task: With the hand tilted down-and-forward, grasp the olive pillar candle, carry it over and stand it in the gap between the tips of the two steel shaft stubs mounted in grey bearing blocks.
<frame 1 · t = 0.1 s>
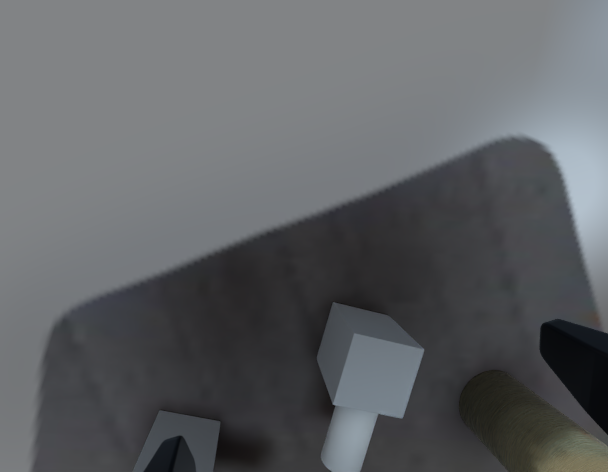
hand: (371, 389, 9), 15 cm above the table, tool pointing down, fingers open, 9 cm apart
shaft B on bearing block: (352, 336, 25), on the table
shaft A on bearing block: (183, 443, 25), on the table
olive pillar candle: (490, 401, 27), on the table
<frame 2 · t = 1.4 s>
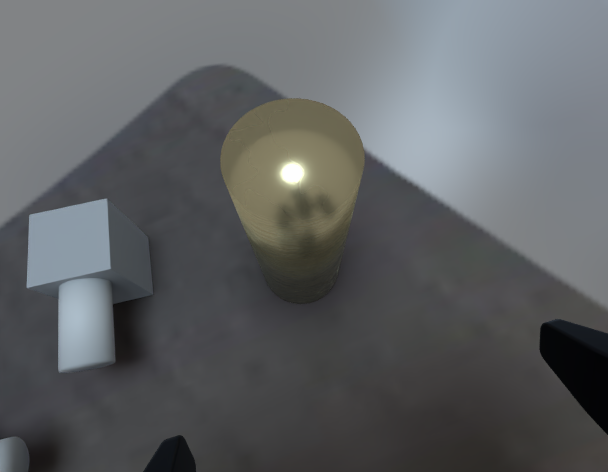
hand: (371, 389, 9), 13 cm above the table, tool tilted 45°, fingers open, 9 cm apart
shaft B on bearing block: (119, 272, 24), on the table
olive pillar candle: (301, 266, 24), on the table
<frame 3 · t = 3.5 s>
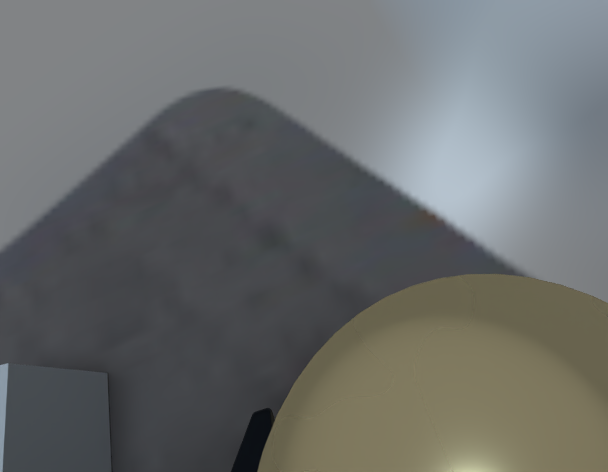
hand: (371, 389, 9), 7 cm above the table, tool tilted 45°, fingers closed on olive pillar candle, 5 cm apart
shaft B on bearing block: (57, 439, 15), on the table
olive pillar candle: (357, 428, 15), on the table, touching gripper
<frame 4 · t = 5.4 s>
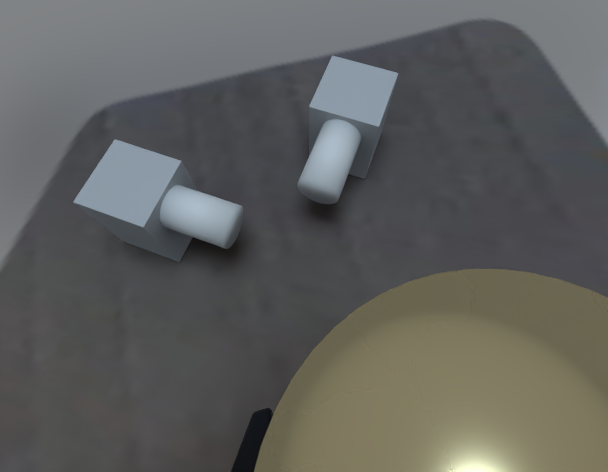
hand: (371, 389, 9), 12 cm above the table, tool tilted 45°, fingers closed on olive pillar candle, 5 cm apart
shaft B on bearing block: (345, 147, 26), on the table
shaft A on bearing block: (166, 224, 24), on the table
olive pillar candle: (357, 427, 15), point 6 cm above the table, touching gripper
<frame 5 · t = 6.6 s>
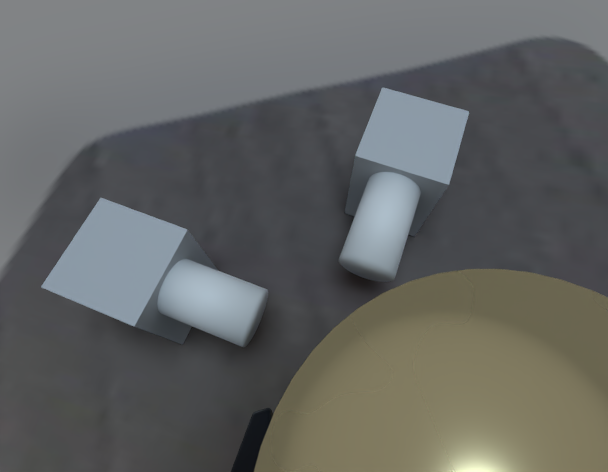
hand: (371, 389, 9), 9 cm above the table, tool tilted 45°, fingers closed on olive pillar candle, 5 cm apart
shaft B on bearing block: (389, 194, 21), on the table
shaft A on bearing block: (167, 292, 19), on the table
olive pillar candle: (357, 427, 15), point 3 cm above the table, touching gripper
when the fingers open (7 cm above the table, at t = 7.6 s): olive pillar candle stays where it is, on the table.
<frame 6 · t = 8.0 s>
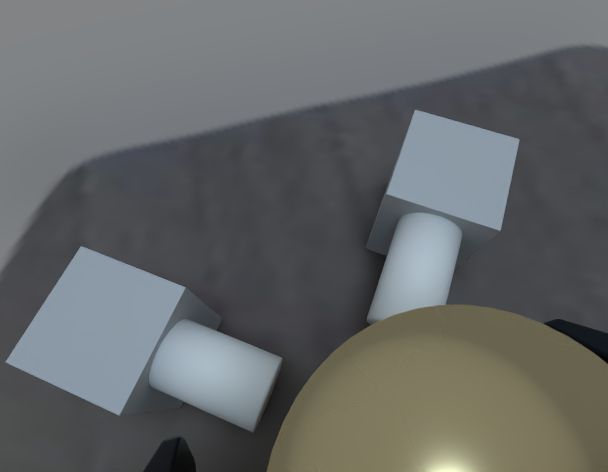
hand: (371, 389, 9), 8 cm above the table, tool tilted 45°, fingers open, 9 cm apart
shaft B on bearing block: (415, 226, 19), on the table
shaft A on bearing block: (162, 344, 17), on the table
olive pillar candle: (355, 426, 15), on the table
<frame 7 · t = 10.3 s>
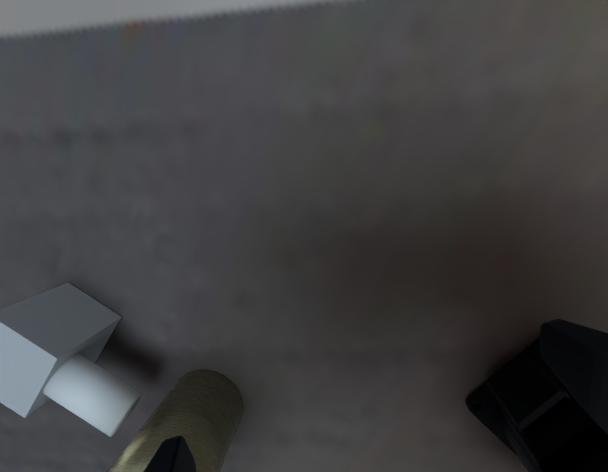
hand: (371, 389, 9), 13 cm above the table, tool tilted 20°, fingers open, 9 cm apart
shaft B on bearing block: (81, 324, 24), on the table
olive pillar candle: (206, 404, 24), on the table
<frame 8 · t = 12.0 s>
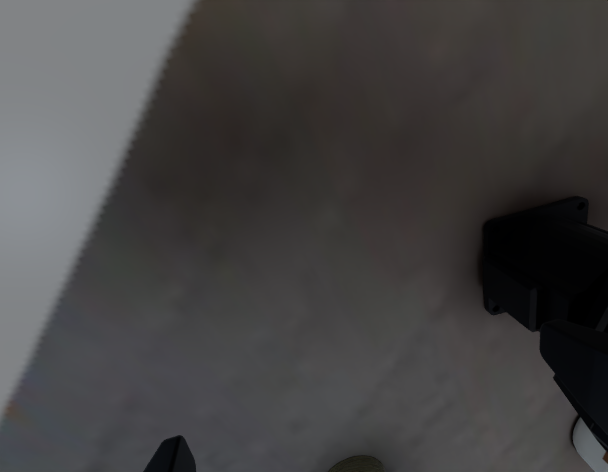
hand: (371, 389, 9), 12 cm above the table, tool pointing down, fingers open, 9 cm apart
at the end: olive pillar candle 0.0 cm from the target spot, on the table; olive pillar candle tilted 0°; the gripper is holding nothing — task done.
